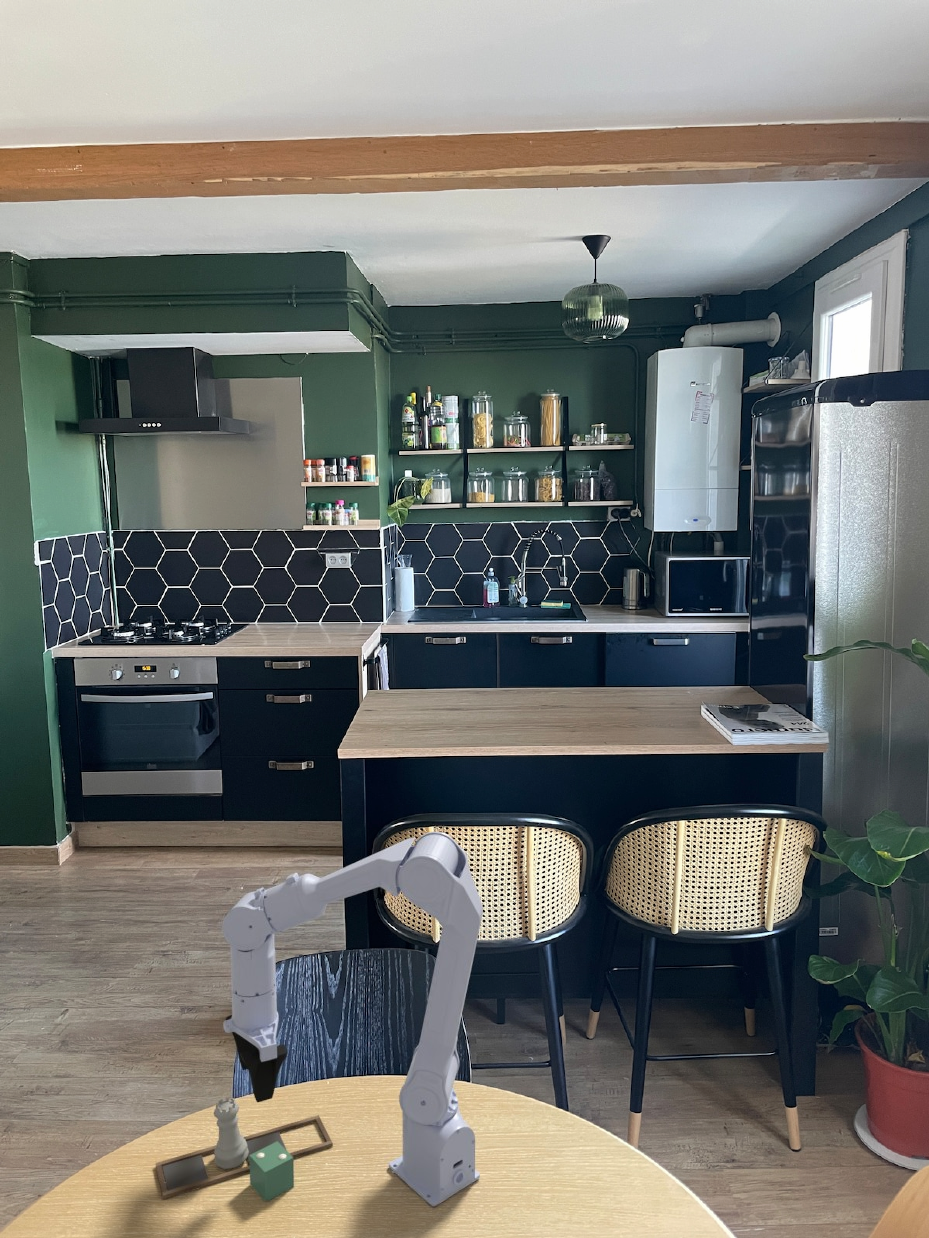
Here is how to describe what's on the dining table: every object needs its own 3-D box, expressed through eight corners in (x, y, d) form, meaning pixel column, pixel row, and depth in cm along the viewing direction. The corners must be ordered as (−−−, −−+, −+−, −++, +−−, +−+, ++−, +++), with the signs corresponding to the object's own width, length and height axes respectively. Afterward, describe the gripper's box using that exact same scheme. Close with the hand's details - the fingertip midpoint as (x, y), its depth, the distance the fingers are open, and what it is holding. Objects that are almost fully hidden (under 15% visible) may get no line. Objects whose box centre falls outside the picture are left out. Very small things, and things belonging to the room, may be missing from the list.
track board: (318, 1118, 129) (318, 1114, 129) (332, 1146, 124) (332, 1142, 123) (155, 1166, 120) (155, 1162, 120) (163, 1199, 114) (162, 1195, 114)
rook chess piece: (254, 1146, 123) (248, 1092, 122) (241, 1171, 118) (235, 1115, 117) (222, 1145, 123) (216, 1091, 122) (208, 1170, 119) (202, 1114, 118)
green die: (293, 1186, 116) (293, 1156, 116) (265, 1201, 114) (265, 1171, 113) (278, 1169, 119) (277, 1140, 119) (250, 1184, 116) (249, 1154, 116)
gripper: (211, 968, 125) (215, 1061, 126) (235, 1020, 112) (239, 1123, 113) (263, 956, 128) (265, 1048, 129) (292, 1006, 115) (294, 1107, 116)
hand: (256, 1082), depth 122 cm, fingers open, 7 cm apart
